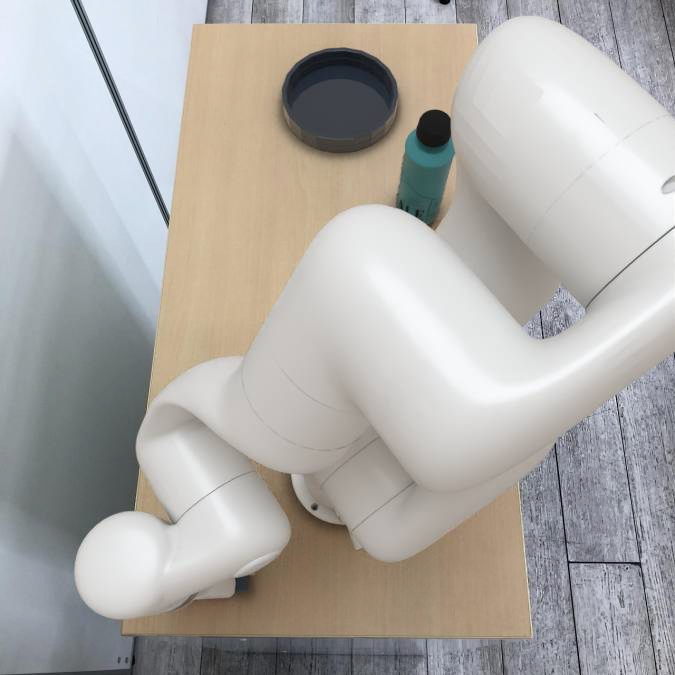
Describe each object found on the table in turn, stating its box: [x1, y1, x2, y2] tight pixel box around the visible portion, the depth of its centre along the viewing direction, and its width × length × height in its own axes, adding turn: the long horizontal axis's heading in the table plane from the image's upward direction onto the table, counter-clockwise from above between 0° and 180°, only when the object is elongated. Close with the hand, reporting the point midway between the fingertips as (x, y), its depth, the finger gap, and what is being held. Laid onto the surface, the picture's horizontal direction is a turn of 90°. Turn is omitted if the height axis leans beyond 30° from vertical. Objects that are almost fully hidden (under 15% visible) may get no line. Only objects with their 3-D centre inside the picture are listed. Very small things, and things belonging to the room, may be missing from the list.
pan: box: [281, 46, 399, 154], centre depth 96 cm, size 17×17×4 cm
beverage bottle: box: [394, 108, 455, 226], centre depth 82 cm, size 6×7×20 cm
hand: (202, 570), depth 73 cm, fingers closed on block, 4 cm apart
